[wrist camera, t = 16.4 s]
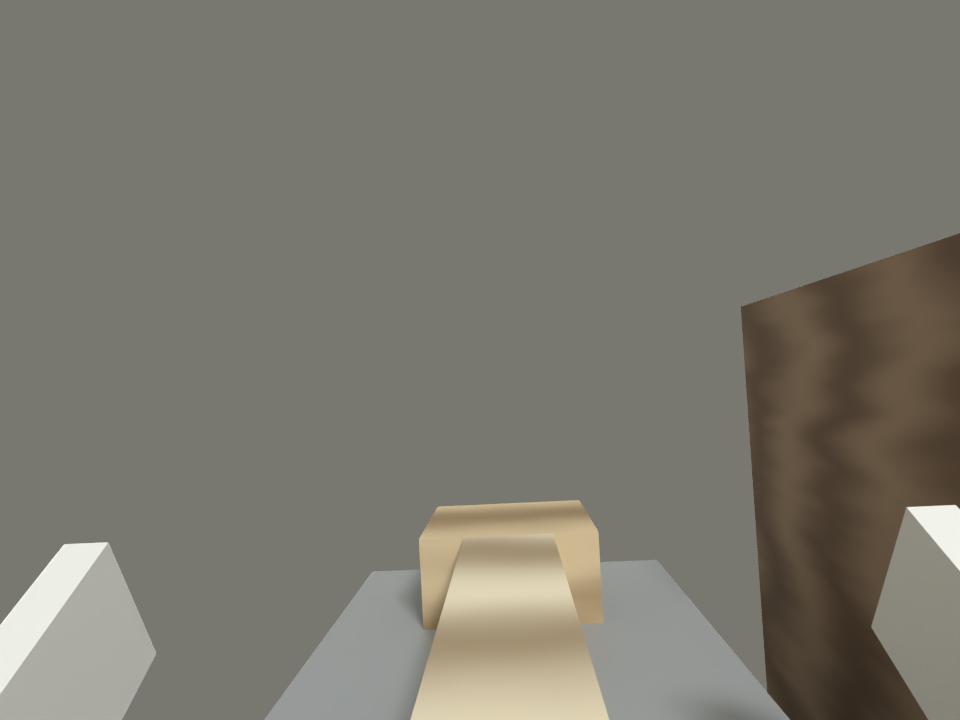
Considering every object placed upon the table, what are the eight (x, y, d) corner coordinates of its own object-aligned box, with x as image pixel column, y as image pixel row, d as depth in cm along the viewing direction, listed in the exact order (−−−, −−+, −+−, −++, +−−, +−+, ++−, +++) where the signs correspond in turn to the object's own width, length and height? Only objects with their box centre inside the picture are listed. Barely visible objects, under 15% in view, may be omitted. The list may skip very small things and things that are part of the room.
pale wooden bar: (1179, 2060, 3) (1124, 1388, 3) (-52, 2006, 3) (-65, 1381, 3) (583, 572, 28) (579, 500, 28) (441, 577, 28) (437, 506, 28)
